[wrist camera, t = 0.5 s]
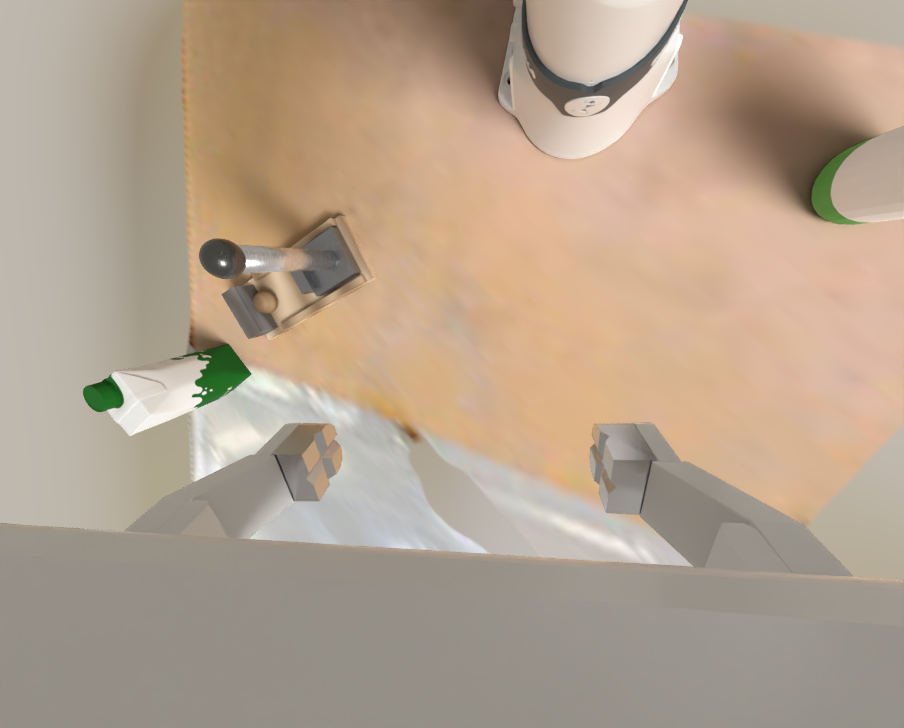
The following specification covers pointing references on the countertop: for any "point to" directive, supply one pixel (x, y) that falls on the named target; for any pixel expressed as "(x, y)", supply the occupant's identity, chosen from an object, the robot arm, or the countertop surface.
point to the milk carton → (166, 388)
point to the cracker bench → (292, 291)
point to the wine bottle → (863, 182)
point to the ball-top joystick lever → (286, 261)
